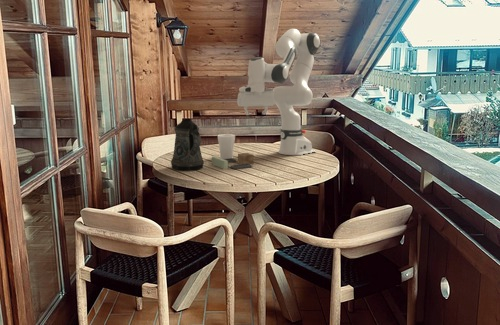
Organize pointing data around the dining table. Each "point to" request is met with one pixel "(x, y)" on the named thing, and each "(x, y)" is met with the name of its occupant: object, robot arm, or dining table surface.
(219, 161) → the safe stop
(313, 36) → the robot arm
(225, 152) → the foam cup
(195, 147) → the beer stein
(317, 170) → the dining table surface
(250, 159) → the walnut block
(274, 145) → the dining table surface
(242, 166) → the trap pair
